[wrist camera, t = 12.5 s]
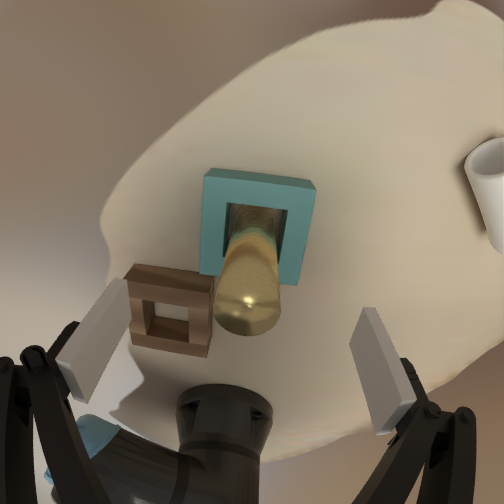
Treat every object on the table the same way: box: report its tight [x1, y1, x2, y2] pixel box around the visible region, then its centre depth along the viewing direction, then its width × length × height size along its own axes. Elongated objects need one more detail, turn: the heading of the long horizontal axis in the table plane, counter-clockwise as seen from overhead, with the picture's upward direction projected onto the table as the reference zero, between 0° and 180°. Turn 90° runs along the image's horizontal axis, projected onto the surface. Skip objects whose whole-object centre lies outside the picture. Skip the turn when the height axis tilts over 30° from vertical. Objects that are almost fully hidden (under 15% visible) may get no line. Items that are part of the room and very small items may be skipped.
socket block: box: [199, 168, 316, 286], centre depth 27 cm, size 9×9×4 cm
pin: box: [213, 205, 281, 336], centre depth 22 cm, size 4×4×14 cm
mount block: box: [123, 264, 214, 358], centre depth 31 cm, size 9×9×4 cm
